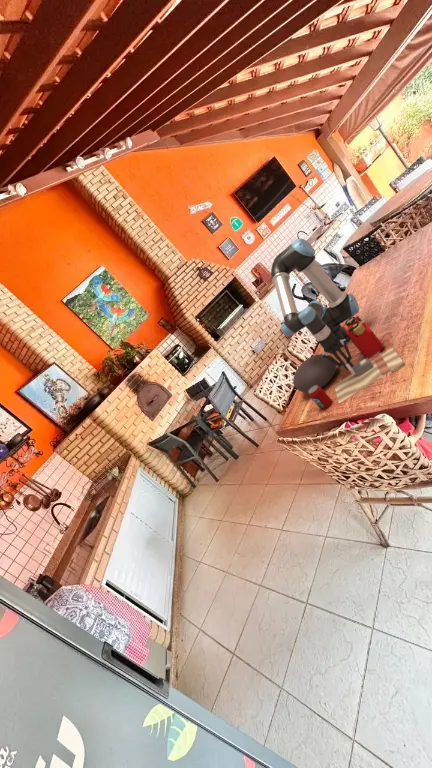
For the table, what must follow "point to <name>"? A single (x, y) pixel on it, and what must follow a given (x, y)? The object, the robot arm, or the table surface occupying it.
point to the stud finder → (362, 367)
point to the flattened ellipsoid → (314, 373)
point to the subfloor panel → (369, 375)
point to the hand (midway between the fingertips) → (354, 372)
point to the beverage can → (320, 397)
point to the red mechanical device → (362, 337)
